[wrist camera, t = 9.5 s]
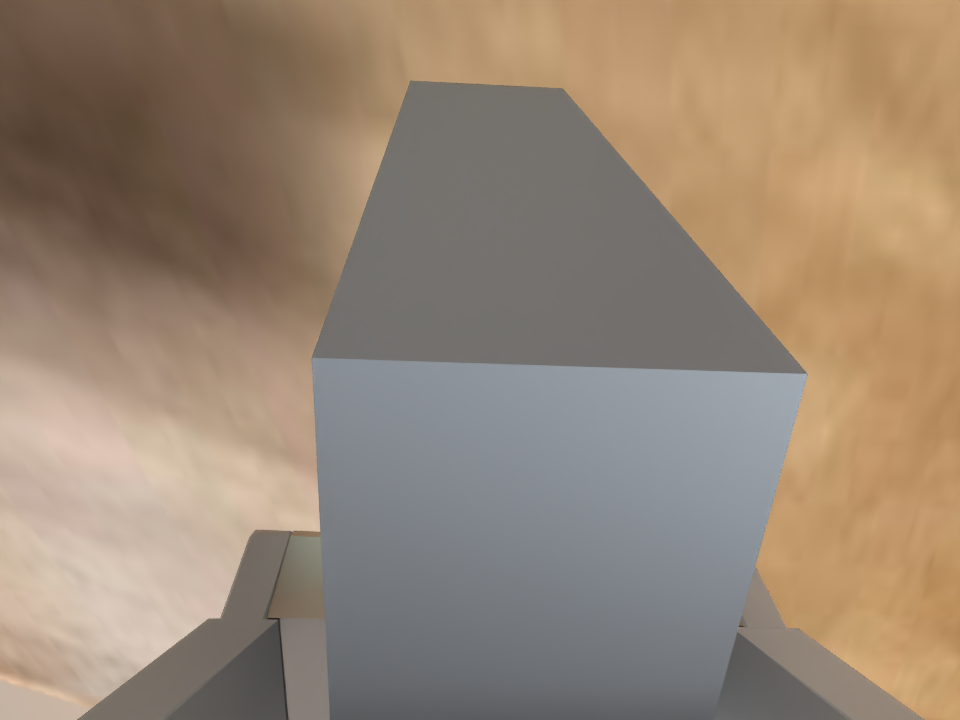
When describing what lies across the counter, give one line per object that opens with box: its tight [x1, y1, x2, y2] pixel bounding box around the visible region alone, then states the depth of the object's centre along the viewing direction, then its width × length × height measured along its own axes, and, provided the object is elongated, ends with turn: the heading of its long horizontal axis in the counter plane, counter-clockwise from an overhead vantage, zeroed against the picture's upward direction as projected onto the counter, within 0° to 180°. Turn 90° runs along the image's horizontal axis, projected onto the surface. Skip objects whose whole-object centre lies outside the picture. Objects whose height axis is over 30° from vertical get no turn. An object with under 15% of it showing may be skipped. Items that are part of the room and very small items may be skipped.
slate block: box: [312, 81, 808, 720], centre depth 14 cm, size 4×10×14 cm, turn 177°
